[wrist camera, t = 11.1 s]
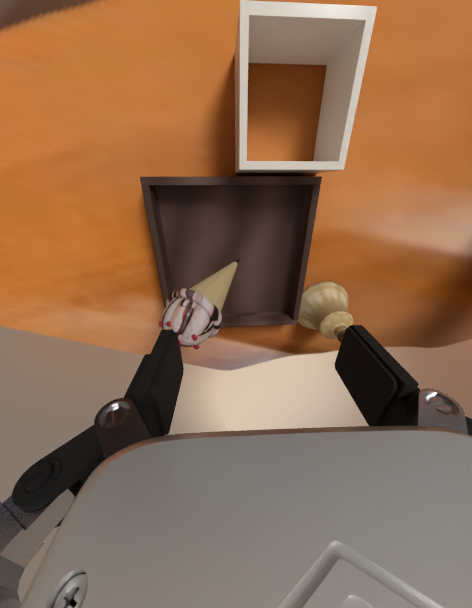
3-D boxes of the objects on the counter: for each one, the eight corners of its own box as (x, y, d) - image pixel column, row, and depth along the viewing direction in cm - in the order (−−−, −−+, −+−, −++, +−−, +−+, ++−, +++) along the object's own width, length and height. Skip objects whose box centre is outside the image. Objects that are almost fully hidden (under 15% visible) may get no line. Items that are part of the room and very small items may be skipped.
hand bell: (313, 336, 35) (374, 434, 21) (283, 307, 32) (331, 398, 18) (357, 305, 33) (458, 392, 19) (328, 270, 30) (426, 342, 16)
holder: (334, 56, 19) (377, 6, 14) (316, 173, 24) (343, 169, 18) (234, 52, 19) (240, 0, 14) (235, 173, 23) (239, 169, 18)
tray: (310, 177, 24) (321, 176, 21) (291, 313, 33) (297, 324, 30) (149, 178, 23) (139, 176, 20) (173, 317, 32) (169, 329, 29)
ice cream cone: (212, 245, 28) (127, 323, 18) (247, 229, 24) (166, 314, 14) (233, 280, 30) (169, 367, 20) (268, 270, 27) (212, 368, 16)
